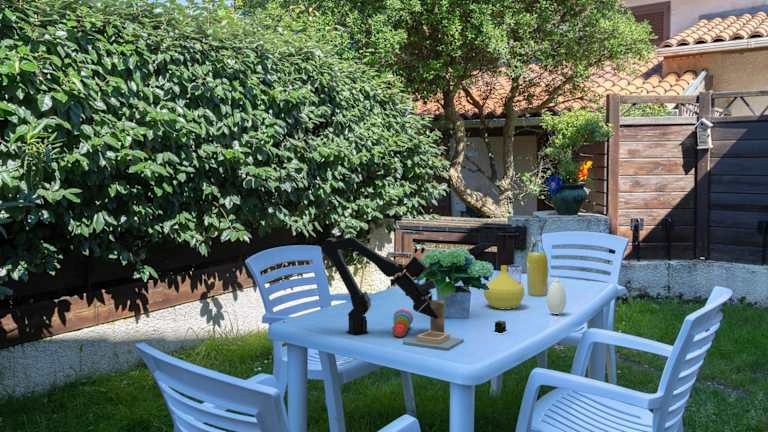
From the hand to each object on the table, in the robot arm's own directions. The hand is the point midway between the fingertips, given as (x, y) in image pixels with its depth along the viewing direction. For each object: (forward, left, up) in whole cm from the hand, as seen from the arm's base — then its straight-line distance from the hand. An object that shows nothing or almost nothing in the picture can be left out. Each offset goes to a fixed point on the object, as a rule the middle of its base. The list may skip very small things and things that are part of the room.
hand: (438, 315), depth 258 cm
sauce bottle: (+64, -5, -8) cm, 65 cm away
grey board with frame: (-9, -8, -8) cm, 14 cm away
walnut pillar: (0, 0, -8) cm, 8 cm away
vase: (+58, +20, -8) cm, 62 cm away
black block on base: (+23, -11, -8) cm, 27 cm away
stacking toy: (-2, +19, -4) cm, 19 cm away
